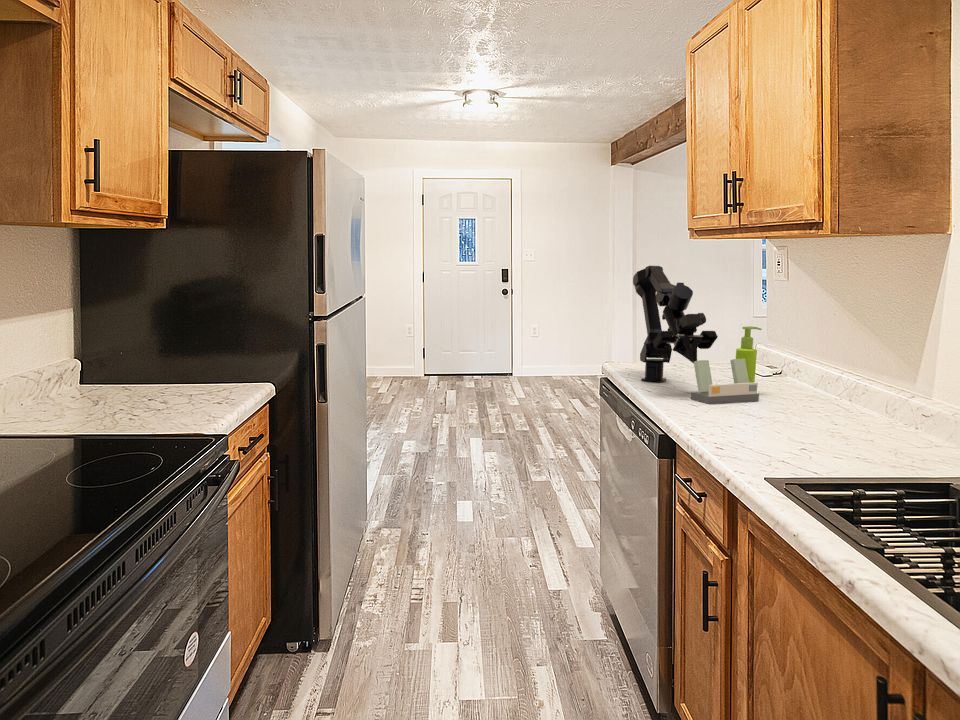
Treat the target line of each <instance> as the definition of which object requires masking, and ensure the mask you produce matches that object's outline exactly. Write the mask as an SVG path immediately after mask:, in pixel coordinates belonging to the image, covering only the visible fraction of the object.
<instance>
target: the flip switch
mask: <svg viewBox="0 0 960 720" xmlns="http://www.w3.org/2000/svg"><path fill="white" fill-rule="evenodd" d="M693 367H694V373H695V380H696V384H697V385H696V386H697V390H698V391H697V392H699V393H705V392H709V385H714V383H713V378H712V373H711V366H710V361H709V359H706V360H697V361H694V363H693Z"/></svg>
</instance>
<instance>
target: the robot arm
mask: <svg viewBox="0 0 960 720" xmlns="http://www.w3.org/2000/svg"><path fill="white" fill-rule="evenodd" d="M632 285H633V286H634V288H635V293H636V294H637V295H638V296H639V297H640V298H641V301H642V307H643V313H644V321H645V327H646V334H647V336H646V338H645V340H644V342H643V347H642V348H641V351H640V354H639V361H640V362H643V363H645V366H644V367H645V368H644V369H645V370H644V377H643V378H641V381H645V382H655V383H662V382H664V381H666V380H667V378H665V377H664V363H670V361H671V356H672V353H673V352H675V353H678V354H679V355H681V356H682V357H684V358H685V359H687V360H688V361H690V362H691V363H692V364H694V361H698V349H700V350H706V349H711V348H712V347H713V345H714V343H715V341H716V340H717V339H718V334H717V332H716V330H701V332H700V334H695V333H697V331H698V329H697V328H698V327H700V326H703V325H704V324H706V323H707V317H706V315H705V313H704V312H698V313H688V314H686V313H685V312H684V311H686V310H687V309H688V307H689V304H690V302H691V300H692V297H693V295H694V292H693V290H692V288H690V286H687V285H685V283H684V282H676V284H672V282H671V281H670V280H669V278H668V277H667V275H666V274H665V272H664V269H663V266H660V265H648V266H646V267H645V268H643V269H640V270H638V271H636V273H635V274H634V275H633V277H632ZM659 307H664V308H663V311H662V316H661V317H660V312H659ZM661 318H662V320H665V321H666V323H667V326H668V328H667V330H663V329H662V325H661V323H662V322H661ZM672 344H673V348H672ZM672 351H673V352H672Z"/></svg>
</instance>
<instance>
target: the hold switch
mask: <svg viewBox="0 0 960 720" xmlns="http://www.w3.org/2000/svg"><path fill="white" fill-rule="evenodd" d="M730 367H731V373H732V379H733V384H736V383H749V380H748V374H747V368H746V362H745V359H736V358H734V359H730Z"/></svg>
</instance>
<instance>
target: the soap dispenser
mask: <svg viewBox="0 0 960 720" xmlns="http://www.w3.org/2000/svg"><path fill="white" fill-rule="evenodd" d="M741 329H743V330H744V336H742V337H741V338H740V340H741V341H740V347H739V348H736V350H735V359H745V362H746V368H747V374H748V380H749V383H755V382H756V381H755V380H756V368H757V367H756V366H757V365H756V364H757V353H758V352H757V351H758V350H757V349H755V348H754V347H753V346H754V338H753V337H752V336H751V331H752V330H758V331H762V330H763V328H761V327H757V326H742V328H741Z"/></svg>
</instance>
